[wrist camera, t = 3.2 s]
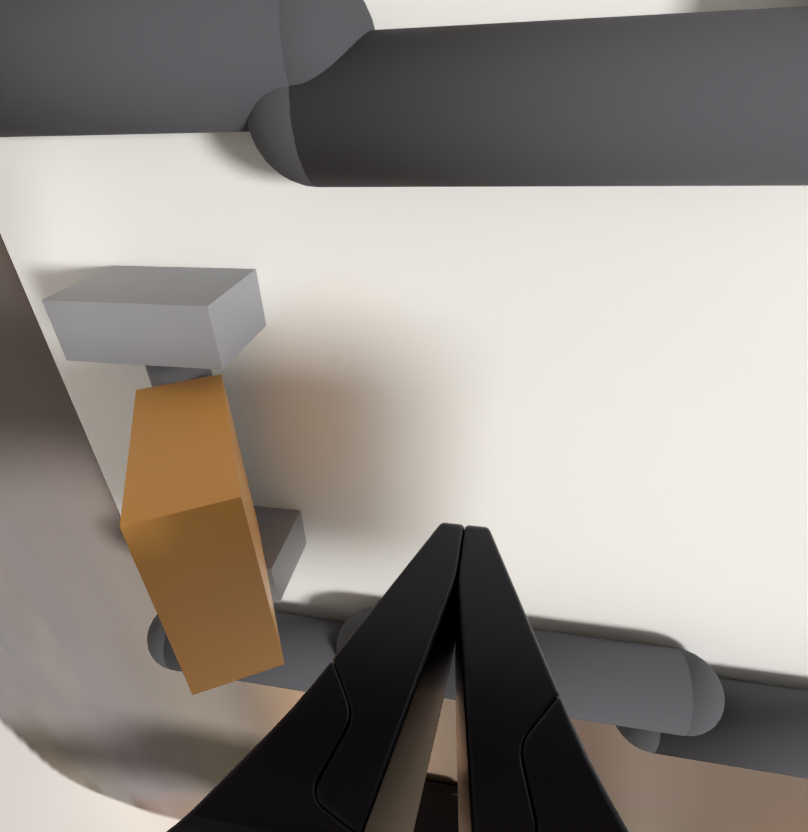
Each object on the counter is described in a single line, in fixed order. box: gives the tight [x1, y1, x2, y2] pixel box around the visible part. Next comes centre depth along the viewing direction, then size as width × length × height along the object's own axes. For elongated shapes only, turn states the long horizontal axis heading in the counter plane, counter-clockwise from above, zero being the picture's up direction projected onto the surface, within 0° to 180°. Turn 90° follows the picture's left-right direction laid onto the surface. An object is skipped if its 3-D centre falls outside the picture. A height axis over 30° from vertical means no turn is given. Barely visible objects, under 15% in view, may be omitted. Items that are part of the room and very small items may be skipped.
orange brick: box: [120, 365, 284, 695], centre depth 11 cm, size 4×2×5 cm, turn 2°
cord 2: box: [147, 608, 808, 779], centre depth 15 cm, size 3×24×2 cm, turn 92°
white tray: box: [0, 0, 808, 690], centre depth 12 cm, size 18×24×5 cm
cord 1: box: [0, 0, 808, 187], centre depth 7 cm, size 3×24×2 cm, turn 92°
